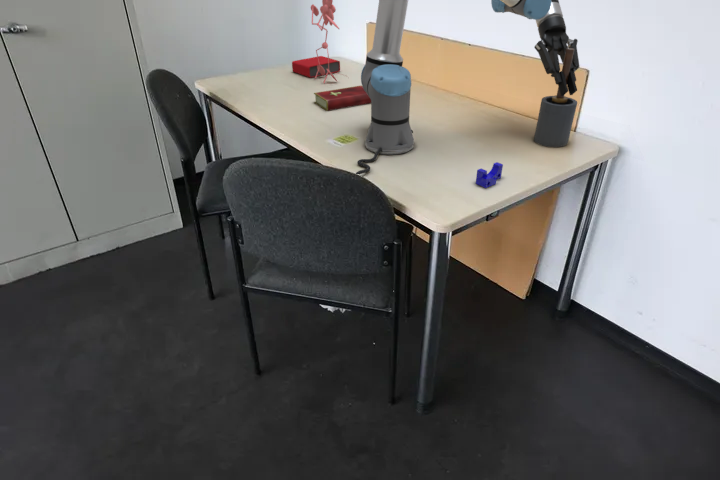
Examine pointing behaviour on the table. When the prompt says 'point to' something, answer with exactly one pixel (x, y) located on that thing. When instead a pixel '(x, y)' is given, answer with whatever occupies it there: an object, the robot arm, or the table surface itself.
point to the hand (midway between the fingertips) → (569, 93)
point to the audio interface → (315, 66)
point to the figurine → (328, 16)
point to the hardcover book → (342, 98)
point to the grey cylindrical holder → (554, 122)
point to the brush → (566, 69)
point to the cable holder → (489, 175)
